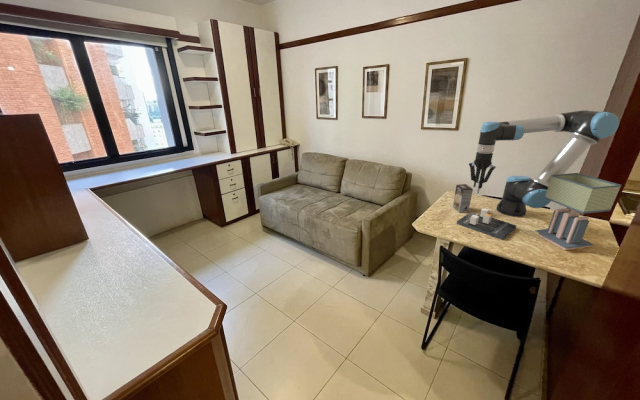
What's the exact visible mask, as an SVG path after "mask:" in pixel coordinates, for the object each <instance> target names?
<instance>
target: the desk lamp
mask: <svg viewBox="0 0 640 400" xmlns="http://www.w3.org/2000/svg"><path fill="white" fill-rule="evenodd" d="M621 187H622V184H619V183H616V182H611V181H608V180H605V179H601V178H597V177H594V176H590V175H586V174H582V173H578V172H572V173H565V174H559V175H552V177H551V180H550V183H549V186H548V189H547V193H546V196H545V199H547V200H550V201H551V202H552V203H556V204H558V205H560V206H563V207H565V208H557V209H555V210H553V212H552V216H551V219H550V222H549V225H548V227H547V228H543V229H535V230H534V231H535V232H536V233H538V236H539V237H541V238H542V239H544V240H546V241H548V242H550V243H552V244H553V245H555V246H557V247H558V248H560V249H562V250H564V251H568V249H571V250H576V249H575V248H579V249H584V248H583V247H587V248H588V247H589V246H590V247H591V246H594V245H595V243H592V242H591V241H588V240H587V239H585V238H584V235H585V233H586V230H587V228H588V226H589V223H590V220H589V219H590V217H589V216H588V215H586V214H593V213H602V212H604V213H605V212H611V211H612V207H613V206H614V202H615V201H616V198H617V196H618V193H619V191H620V189H621ZM569 210H570V211H569ZM580 214H583V215H584V214H585V215H586V216H585V215H584V216H580Z"/></svg>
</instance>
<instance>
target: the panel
mask: <svg viewBox="0 0 640 400" xmlns="http://www.w3.org/2000/svg"><path fill="white" fill-rule="evenodd" d="M480 214H481V213H476V212H472V211H471V212H468V214H466V215H464V216H463V217H461V218H460V219H457V220H456V225H459V226H461V227H464V228H467V229H471V230H474V231H476V232H478V233H481V234H484V235H487V236H490V237H493V238H495V239H498V240H502V241H504V240H505V239H506V238H507V237H508V236H509V235H511V233H513V232H514V231H515V230H516V229H517V225H516V224H514V223H510V222H506V221H504V220H501V219H498V218H494V217H491V222H490V223H489V224H487V223H483V222H482V221H483V217H480ZM472 215H476V216H479V219H478V224H476V225H473V224H470V218H471V216H472Z"/></svg>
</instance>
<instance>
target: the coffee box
mask: <svg viewBox="0 0 640 400" xmlns="http://www.w3.org/2000/svg"><path fill="white" fill-rule="evenodd" d="M473 192H474V190H473V187H471V186H469V185H468V184H466V183H464V184H463V183H462V184H461V183H460V184H456V186H455V193H454V198H453V203H452V208H454V209H455V210H456V211H457V212H458V213H469V211H470V205H471V201H472V195H473Z"/></svg>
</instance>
